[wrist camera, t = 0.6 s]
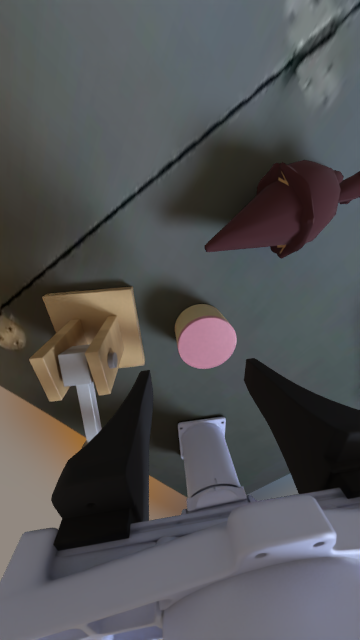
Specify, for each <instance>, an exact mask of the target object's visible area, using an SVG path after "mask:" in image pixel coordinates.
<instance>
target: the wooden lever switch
mask: <svg viewBox="0 0 360 640" xmlns="http://www.w3.org/2000/svg"><path fill="white" fill-rule="evenodd" d="M42 298H43V301H44V303H45V306H46V308H47V311H48V313H49V316H50V319H51V321H52V324H53V326H54V329H55V331H56V334H55V335H54V336H53V337H52V338H51V339H50V340H49V341H48V342H47V343H45V344H44V345H43V346H42V347H41V348H40V349H39V350H38V351H37V352H36V353H35V354H34V355H33V356H32V357H30V358H29V361H30V363H31V365H32V367H33V369H34V371H35V373H36V375H37V377H38V379H39V381H40V383H41V385H42V387H43V389H44V391H45V393H46V395H47V397H48V399H49V401H50V402H51V401H59V400H62V399H63V397H64V396H65V394H66V392H67V391H68V389H69V387H70V386H66V387H64V383H63V378H62V373H61V369H60V364H59V359H58V355H59V354H60V353H62V352H64V351H65V350H67V349H69V348H70V347H72V346H79V345H88V344H90V345H89V347H88V349H87V350H86V352H85V356H86V359H87V362H88V365H89V368H90V371H91V374H92V377H93V380H94V383H95V386H96V389H97V392H98V395H107V394H110V393H111V390H112V387H113V384H114V380H115V377H116V374H117V371H118V368H124V367H133V366H142V365H144V364H145V357H144V351H143V345H142V339H141V333H140V328H139V322H138V316H137V310H136V304H135V298H134V293H133V287H121V288H109V289H97V290H85V291H73V292H62V293H50V294H47V295H45V296H43V297H42Z"/></svg>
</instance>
